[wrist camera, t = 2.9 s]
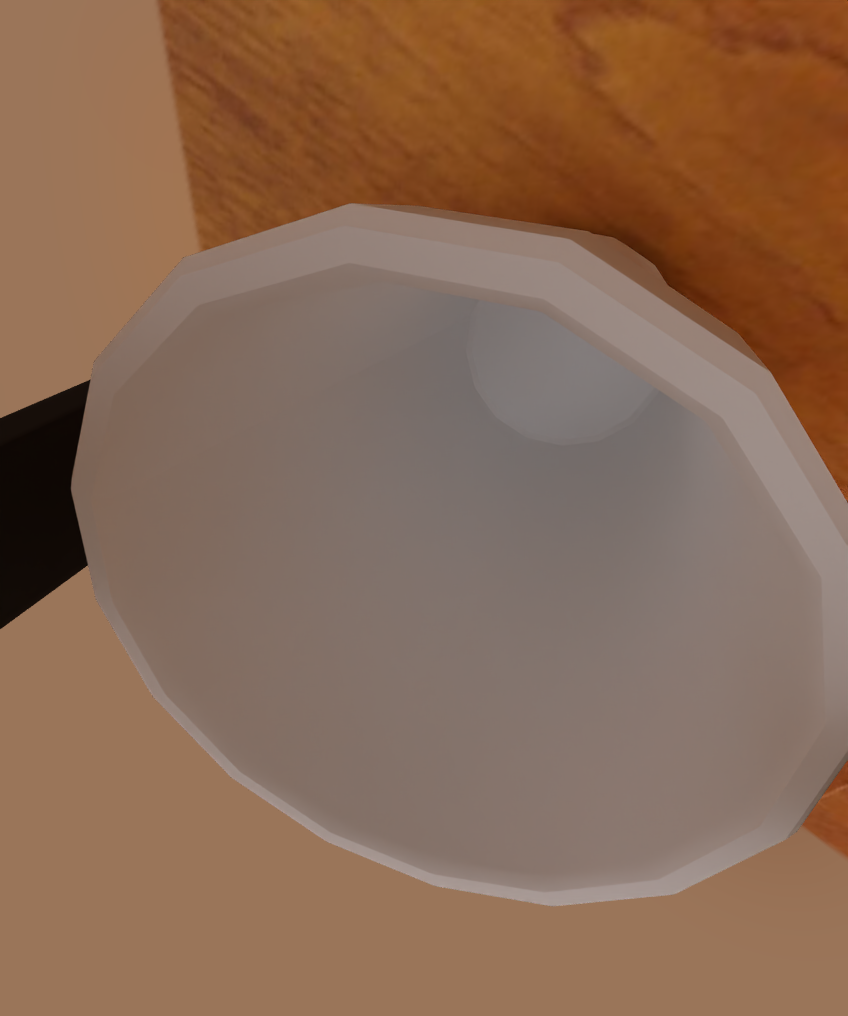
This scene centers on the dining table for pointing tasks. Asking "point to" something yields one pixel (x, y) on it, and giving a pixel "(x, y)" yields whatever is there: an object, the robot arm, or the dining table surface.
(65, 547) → the robot arm
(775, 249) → the dining table surface
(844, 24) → the dining table surface
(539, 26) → the dining table surface
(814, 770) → the cup
